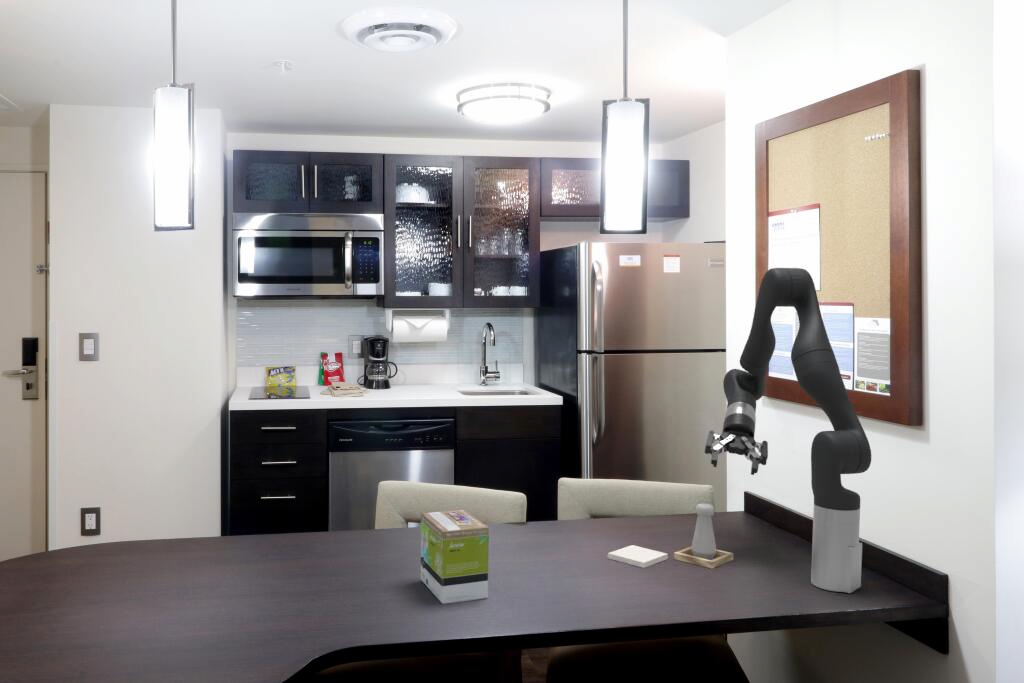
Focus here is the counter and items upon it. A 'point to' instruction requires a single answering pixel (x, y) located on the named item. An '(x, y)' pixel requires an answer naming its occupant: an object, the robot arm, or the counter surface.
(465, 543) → the tea box
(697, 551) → the salt shaker
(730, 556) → the frame
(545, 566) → the counter surface
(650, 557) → the coaster
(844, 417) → the robot arm
